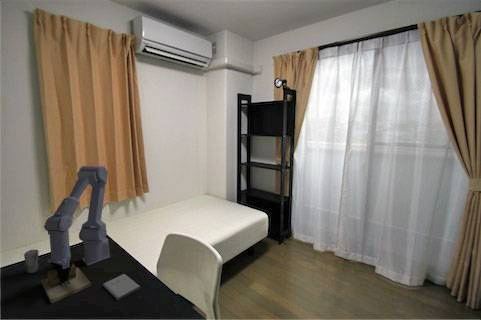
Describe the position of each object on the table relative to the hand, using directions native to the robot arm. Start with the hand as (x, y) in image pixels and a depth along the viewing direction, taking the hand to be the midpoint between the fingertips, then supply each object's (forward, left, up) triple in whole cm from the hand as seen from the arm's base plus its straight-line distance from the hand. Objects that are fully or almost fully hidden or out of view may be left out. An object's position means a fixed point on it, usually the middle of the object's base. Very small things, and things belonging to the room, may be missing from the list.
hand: (62, 278), depth 87 cm
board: (-1, +2, -2) cm, 3 cm away
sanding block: (0, 0, -1) cm, 1 cm away
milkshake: (+6, -19, -2) cm, 20 cm away
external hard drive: (-14, +20, -3) cm, 24 cm away
